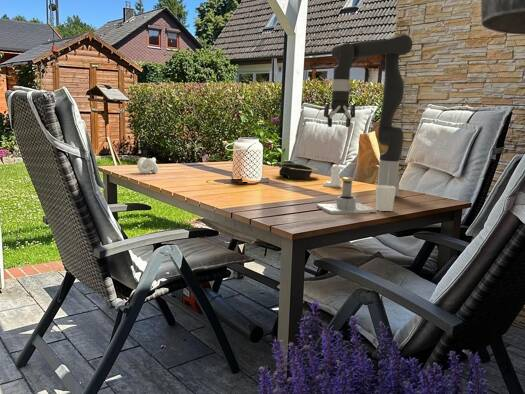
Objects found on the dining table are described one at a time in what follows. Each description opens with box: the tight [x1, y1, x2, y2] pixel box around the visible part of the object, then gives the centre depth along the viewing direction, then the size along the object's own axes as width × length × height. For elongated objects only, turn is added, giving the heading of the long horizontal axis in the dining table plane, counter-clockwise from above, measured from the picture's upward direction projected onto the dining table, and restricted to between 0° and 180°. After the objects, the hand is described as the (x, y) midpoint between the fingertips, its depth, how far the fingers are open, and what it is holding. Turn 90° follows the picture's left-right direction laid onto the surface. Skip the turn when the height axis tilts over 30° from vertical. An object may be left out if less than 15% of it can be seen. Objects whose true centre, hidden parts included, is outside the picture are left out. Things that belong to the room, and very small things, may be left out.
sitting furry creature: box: [322, 164, 342, 188], centre depth 261 cm, size 10×9×12 cm
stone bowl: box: [276, 160, 318, 180], centre depth 290 cm, size 25×25×9 cm
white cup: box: [375, 184, 396, 212], centre depth 203 cm, size 8×8×10 cm
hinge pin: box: [341, 176, 354, 199], centre depth 201 cm, size 5×5×12 cm
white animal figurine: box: [137, 157, 159, 175], centre depth 285 cm, size 11×12×9 cm
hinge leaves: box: [316, 195, 377, 215], centre depth 202 cm, size 20×14×5 cm
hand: (338, 127), depth 221 cm, fingers open, 8 cm apart
